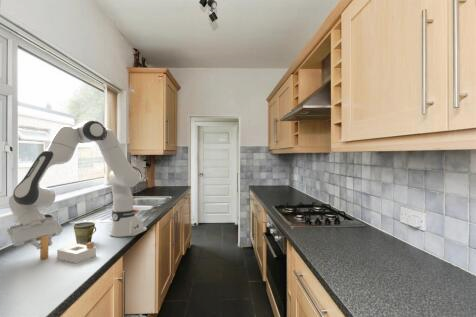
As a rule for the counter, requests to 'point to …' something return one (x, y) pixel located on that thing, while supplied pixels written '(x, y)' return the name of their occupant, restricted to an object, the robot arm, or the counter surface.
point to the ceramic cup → (84, 232)
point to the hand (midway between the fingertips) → (45, 246)
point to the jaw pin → (44, 247)
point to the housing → (77, 252)
